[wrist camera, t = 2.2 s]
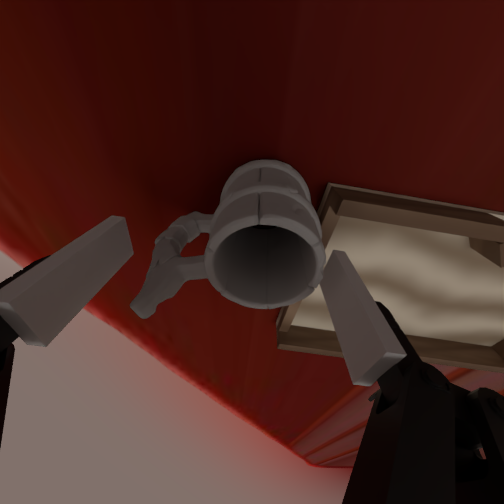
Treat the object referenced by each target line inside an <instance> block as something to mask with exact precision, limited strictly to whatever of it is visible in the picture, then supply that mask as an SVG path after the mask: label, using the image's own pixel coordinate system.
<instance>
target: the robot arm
mask: <svg viewBox="0 0 504 504" xmlns="http://www.w3.org/2000/svg"><path fill="white" fill-rule="evenodd" d="M133 254H134V252H133V248H132V244H131V240H130V236H129V232H128V228H127V224H126V220H125V217H119V216H111V217H109V218H107V219H106V220H104V221H103V222H101V223H100V224H98V225H97V226H95V227H94V228H92V229H91V230H89V231H88V232H86V233H85V234H83V235H82V236H80V237H79V238H77V239H76V240H74V241H73V242H71V243H69V244H68V245H66V246H65V247H63V248H62V249H60V250H59V251H57V252H56V253H54V254H53V255H49V256H46V257H44V258H41V259H39V260H36V261H34V262H33V263H31V264H30V265H28V266H26V267H25V268H23V270H20V271H19V272H17V273H15V274H14V275H13V277H9V278H8V279H6V280H4V281H3V282H1V283H0V447H1V440H2V433H3V427H4V420H5V413H6V406H7V399H8V393H9V386H10V379H11V372H12V365H13V359H14V352H15V348H14V345H13V344H12V342H13V341H14V340H16V339H17V338H18V337H20V338H21V339H22V340H23V341H24V342H25V343H26V344H27V345H35V346H43V347H46V346H47V345H48V344H49V343H50V342H51V341H52V340H53V339H54V338H55V337H56V336H57V335H58V334H59V333H60V332H61V331H62V329H63V328H64V327H65V326H66V325H67V324H68V323H69V322H70V321H71V320H72V319H73V318H74V317H75V316H76V315H77V314H78V313H79V311H80V310H81V309H82V308H83V307H84V306H85V305H86V304H87V303H88V302H89V301H90V300H91V299H92V298H93V297H94V296H95V294H96V293H97V292H98V291H99V290H100V289H101V288H102V287H103V286H104V285H105V284H106V283H107V282H108V281H109V280H110V279H111V277H112V276H113V275H114V274H115V273H116V272H117V271H118V270H119V269H120V268H121V267H122V266H123V265H124V264H125V263H126V261H127V260H128V259H129V258H130V257H131V256H132V255H133ZM319 284H320V287H321V290H322V293H323V296H324V299H325V302H326V305H327V308H328V311H329V314H330V317H331V320H332V323H333V326H334V329H335V332H336V335H337V338H338V341H339V344H340V346H341V349H342V352H343V355H344V358H345V361H346V364H347V367H348V370H349V373H350V376H351V379H352V382H353V384H355V385H363V386H371V385H372V384H373V383H374V382H375V381H378V384H379V386H380V389H379V390H378V391H377V392H375V393H374V394H373V395H371V396H370V398H369V399H368V400H369V401H372V400H374V399H375V400H374V403H373V407H372V410H371V413H370V416H369V419H368V423H367V426H366V429H365V432H364V435H363V438H362V442H361V445H360V448H359V451H358V454H357V457H356V461H355V464H354V467H353V470H352V473H351V476H350V480H349V483H348V486H347V489H346V492H345V496H344V499H343V502H342V504H504V396H502V395H500V394H499V393H497V392H495V391H494V390H491V389H488V388H478V389H476V390H474V391H472V392H471V391H468V390H466V389H464V388H461V387H459V386H457V385H454V384H452V383H450V382H449V380H448V379H447V378H446V377H445V376H444V375H443V374H442V373H441V372H440V371H439V370H438V369H436V368H435V367H434V366H432V365H430V364H428V363H426V362H423V361H422V360H421V358H420V357H419V355H418V354H417V352H416V351H415V349H414V348H413V346H412V345H411V343H410V342H409V340H408V338H407V337H406V335H405V334H404V332H403V331H402V329H400V326H399V325H398V323H397V322H396V321H395V318H394V317H393V315H392V314H391V312H390V311H389V310H388V309H387V308H386V307H385V306H384V305H383V304H382V303H381V302H378V301H374V299H373V297H372V296H371V294H370V292H369V291H368V289H367V288H366V286H365V284H364V283H363V281H362V279H361V278H360V276H359V274H358V273H357V271H356V269H355V268H354V266H353V264H352V263H351V261H350V259H349V258H348V256H347V254H346V253H345V251H339V250H333V251H332V253H331V255H330V257H329V259H328V262H327V264H326V266H325V268H324V270H323V279H322V280H321V281H320V283H319ZM480 448H483V450H484V453H485V456H486V459H483V458H482V456H481V454H480V451H479V449H480Z"/></svg>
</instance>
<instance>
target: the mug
mask: <svg viewBox="0 0 504 504" xmlns="http://www.w3.org/2000/svg"><path fill="white" fill-rule="evenodd" d="M258 224H260V225H271V226H277V227H276V228H272V229H257V228H253V227H251V226H254V225H258ZM201 232H206V233H209V237H210V239H209V241H208V244H207V247H206V250H205V254H204V255H201V256H194V257H181V256H180V252H181V251H182V249H183V247H184V246H185V245H186V243H187V242H188V243H189V242H191V241H192V240H194V239H195V238H196V237H197V236H199V235H200V233H201ZM321 239H322V229H321V225H320V221H319V218H318V215H317V213H316V211H315V209H314V207H313V206H312V204H311V197H310V193H309V189H308V187H307V184H306V182H305V181H304V179H303V177H302V176H301V175H300V174H299V173H298V172H297V171H296V170H295V169H294V168H293V167H291V166H290V165H289V164H286V163H284V162H281V161H278V160H255V161H251V162H248V163H246V164H244V165H242V166H241V167H238V168H237V169H236V170H235V171H234V172H233V174H232V175H231V176H230V177H229V178H228V180H227V181H226V183H225V185H224V187H223V190H222V193H221V198H220V204H219V206H218V207H217V209H216V211H215V213H214V214H212V215H211V214H202V213H200V212H197V211H194V212H192V213H190V214H188V215H187V216H181V217H179V218H178V219H177V220H176V221H174V222H173V223H172V224H171V225H170V226H169V227H168V230H165V231H164V232H163V233H161V234H160V235H159V236H158V237H157V239H156V240H155V244H156V246H155V249H154V250H153V255H152V262H151V264H150V267H149V270H148V272H147V274H146V281H145V283H144V285H143V287H142V289H141V291H140V293H139V294H138V295H137V296H136V297H135V299H134V300H133V301H132V302H131V304H130V307H131V309H132V310H133V311H134V312H135V313H136V314H137V315H138V316H139V317H141V318H143V319H145V318H148V317H150V316H151V315H152V314H153V313H155V311H156V306H157V305H158V304H159V303H161V302H163V301H164V300H165V299H168V298H172V297H173V296H174V295H175V294H176V293H177V292H178V290H179V289H180V288H181V286H182V285H183V283H185V282H186V281H188V280H192V279H203V278H208V280H209V281H210V282H211V284H212V285H213V286H214V288H215V289H216V290H217V291H219V292H221V295H222V296H224V297H226V298H227V299H229V300H231V301H234V302H236V303H238V304H240V305H243V306H246V307H250V308H257V309H267V308H269V309H273V308H277V307H281V306H288V305H291V304H294V303H296V302H298V301H300V300H302V299H305V298H306V297H308V296H309V295H310V294H312V293H313V292H314V290H315V289H314V288H317V286H318V285H319V283H320V281H321V280H322V279H323V267H324V265H325V264H326V254H325V249H324V246H323V243H322V240H321Z"/></svg>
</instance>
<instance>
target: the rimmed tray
mask: <svg viewBox="0 0 504 504" xmlns="http://www.w3.org/2000/svg"><path fill="white" fill-rule="evenodd" d="M317 215H318V218H319V221H320V225H321V229H322V239H321V240H322V243H323V246H324V249H325V254H326V264H327V262H328V259H329V257H330V255H331V253H332V251H333V250H339V251H345V253H346V254H347V256H348V258H349V259H350V261H351V263H352V264H353V266H354V268H355V269H356V271H357V273H358V274H359V276H360V278H361V279H362V281H363V283H364V284H365V286H366V288H367V289H368V291H369V292H370V294H371V296H372V297H373V299H374V301H378V302H381V303H382V304H383V305H384V306H385V307H386V308H387V309H388V310H389V311H390V312H391V314H392V315H393V317H394V318H395V321H396V322H397V323H398V325H399V326H400V329H402V331H403V332H404V334H405V335H406V337H407V338H408V340H409V342H410V343H411V345H412V346H413V348H414V349H415V351H416V352H417V354H418V355H419V357H420V358H421V360H422V361H423V362H426V363H433V364H440V365H447V366H455V367H462V368H469V369H477V370H484V371H491V372H499V373H504V213H503V212H497V211H491V210H485V209H480V208H474V207H468V206H462V205H456V204H450V203H445V202H439V201H433V200H427V199H421V198H416V197H410V196H404V195H398V194H392V193H386V192H381V191H375V190H369V189H363V188H357V187H352V186H346V185H340V184H334V183H328V184H327V187H326V190H325V192H324V195H323V198H322V201H321V203H320V206H319V209H318V211H317ZM326 264H325V265H324V267H323V270H324V268H325V266H326ZM314 289H315V290H314V292H313V293H312V294H310V295H309V296H308V297H306V298H305V299H302V300H300V301H298V302H296V303H294V304H291V305H288V306H282V308H281V310H280V313H279V316H278V318H277V321H276V329H277V349H284V350H291V351H298V352H306V353H313V354H320V355H328V356H335V357H343V358H344V355H343V352H342V349H341V346H340V344H339V341H338V338H337V335H336V332H335V329H334V326H333V323H332V320H331V317H330V314H329V311H328V308H327V305H326V302H325V299H324V296H323V293H322V290H321V287H320V284H319V285H318V286H317V288H314Z"/></svg>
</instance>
